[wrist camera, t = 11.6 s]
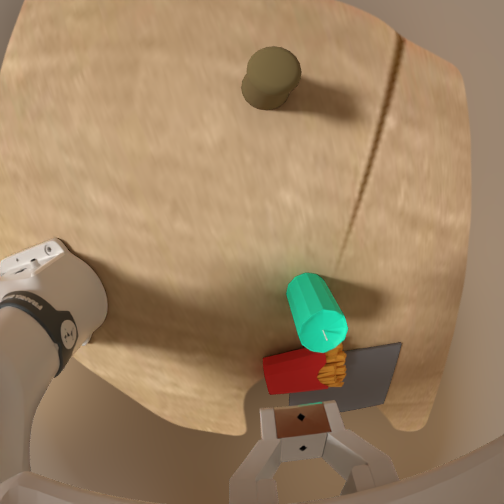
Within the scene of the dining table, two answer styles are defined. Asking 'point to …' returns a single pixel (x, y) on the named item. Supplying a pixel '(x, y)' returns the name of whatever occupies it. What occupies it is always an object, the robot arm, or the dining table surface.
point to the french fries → (304, 370)
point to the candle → (316, 313)
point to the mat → (358, 380)
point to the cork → (270, 77)
